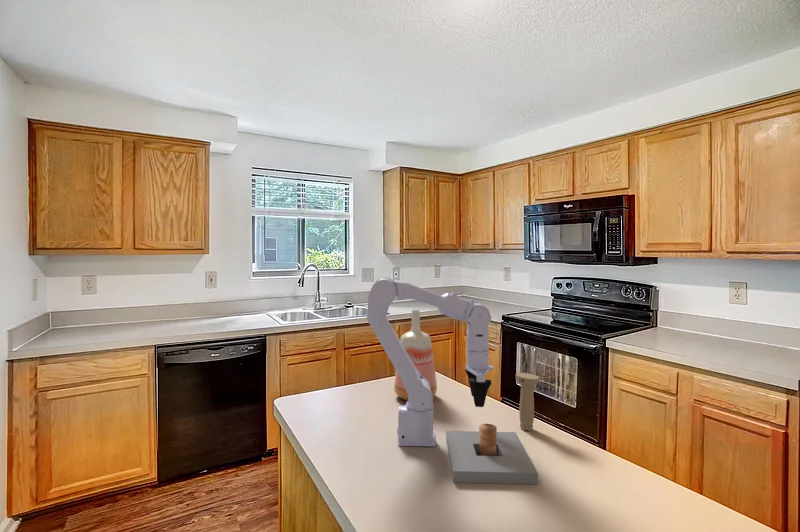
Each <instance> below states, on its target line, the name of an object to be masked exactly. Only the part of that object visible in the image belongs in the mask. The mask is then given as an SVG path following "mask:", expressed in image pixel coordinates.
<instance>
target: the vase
mask: <svg viewBox="0 0 800 532" xmlns="http://www.w3.org/2000/svg"><path fill="white" fill-rule="evenodd" d="M420 312H421V311H420V310H418V309H412V310H411V327H410V330H409V331H407V332H405V333H403V334H402V335H401V337H400V339H399V340H400V341H401V343H402V345H403V347H404V348H405V350H406V352H407V354H408V355H409V357H410V359H411V360H412V362H413V364H414V366H415V367H416V368H417V370H418V371H419V372H420V374H421V375H422V376H423V377H424V378H426V379H427V380H428V381H429V383H430V386H431V392H432V395H433V397H434V396H435V395H436V393H437V391H438V385H437V375H436V368H435V361H434V360H435V359H434V353H433V345H432V339H431V337H430V335H429V334H428V333H426V332H424V331H422V330H421V316H420V315H421V313H420ZM394 375H395V376H394V386H393V387H394V393H395V394H396V395H397V397H399V398H400V399H402V400H404V401H406V402H408V394H407V391H406V390H405V388H404V385H403V382H402V380H401V378H400V376H399V374H398V372H397V371H396V370H395V374H394Z"/></svg>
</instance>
